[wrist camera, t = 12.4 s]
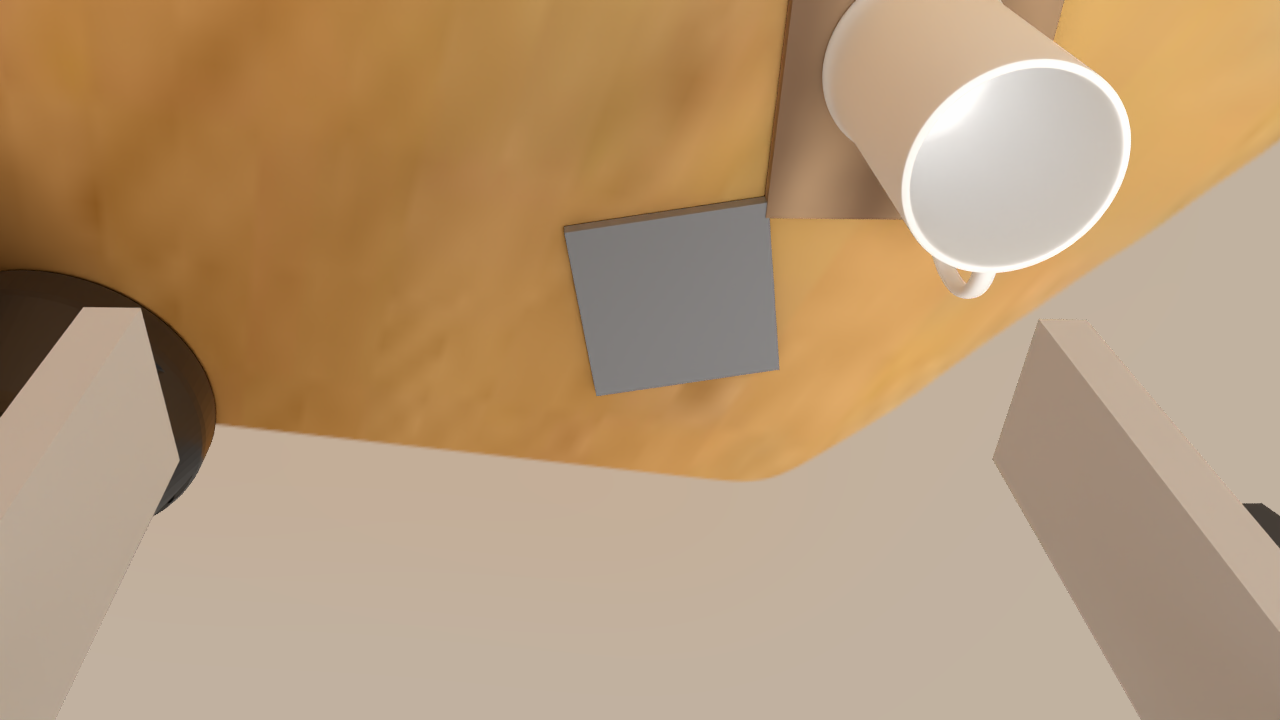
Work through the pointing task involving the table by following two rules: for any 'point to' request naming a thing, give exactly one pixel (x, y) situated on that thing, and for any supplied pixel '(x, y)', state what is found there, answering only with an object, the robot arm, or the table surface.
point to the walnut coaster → (810, 139)
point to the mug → (976, 130)
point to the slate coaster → (676, 295)
